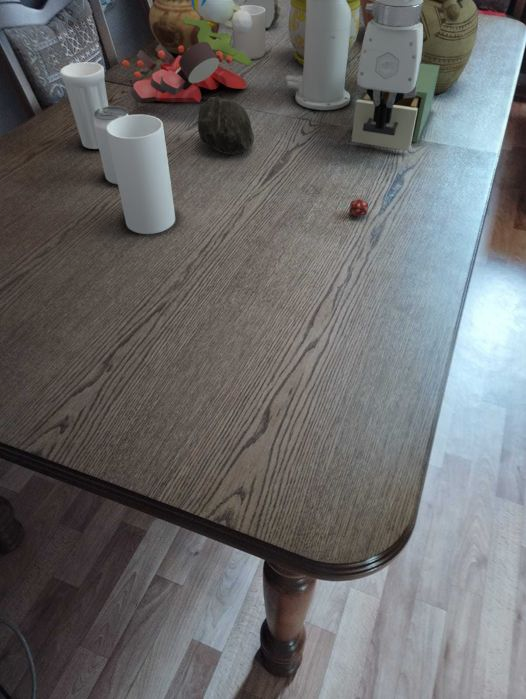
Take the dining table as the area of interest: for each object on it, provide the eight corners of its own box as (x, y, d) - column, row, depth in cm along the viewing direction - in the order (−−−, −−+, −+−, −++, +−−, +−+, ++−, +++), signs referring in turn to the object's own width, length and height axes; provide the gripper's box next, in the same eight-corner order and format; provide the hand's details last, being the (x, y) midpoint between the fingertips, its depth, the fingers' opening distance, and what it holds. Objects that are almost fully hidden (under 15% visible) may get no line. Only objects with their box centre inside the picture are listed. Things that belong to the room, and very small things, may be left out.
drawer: (404, 161, 105) (412, 119, 99) (345, 150, 108) (350, 110, 102) (421, 121, 117) (429, 82, 111) (368, 113, 120) (373, 75, 114)
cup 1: (70, 149, 110) (50, 74, 100) (92, 132, 116) (75, 59, 105) (105, 155, 108) (88, 79, 98) (126, 138, 114) (112, 64, 103)
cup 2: (153, 239, 88) (137, 143, 77) (115, 224, 91) (94, 129, 80) (185, 216, 93) (174, 122, 82) (147, 202, 96) (132, 110, 85)
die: (362, 222, 92) (364, 206, 90) (345, 217, 93) (347, 201, 91) (369, 214, 93) (371, 198, 91) (352, 209, 94) (355, 193, 92)
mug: (267, 45, 154) (267, 1, 146) (264, 60, 146) (264, 14, 138) (236, 45, 155) (235, 1, 147) (232, 59, 146) (230, 14, 138)
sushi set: (185, 138, 116) (89, 75, 116) (228, 139, 143) (150, 88, 143) (251, -1, 104) (145, -71, 104) (284, 29, 131) (200, -26, 131)
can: (133, 187, 100) (121, 121, 91) (100, 183, 101) (84, 118, 92) (146, 170, 104) (135, 106, 96) (113, 167, 105) (100, 103, 96)
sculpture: (254, 31, 180) (289, 17, 176) (246, 38, 165) (283, 23, 162) (242, -7, 174) (278, -22, 170) (232, -3, 159) (270, -20, 156)
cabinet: (416, 142, 112) (427, 93, 105) (355, 132, 115) (361, 83, 108) (429, 112, 122) (439, 65, 115) (373, 104, 126) (379, 58, 119)
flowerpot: (369, 63, 144) (378, -10, 132) (315, 78, 137) (320, 2, 125) (326, 45, 154) (331, -24, 143) (273, 57, 147) (274, -14, 136)
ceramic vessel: (376, 68, 142) (397, -78, 120) (460, 74, 139) (497, -75, 117) (371, 96, 129) (393, -61, 107) (464, 104, 126) (506, -57, 104)
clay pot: (212, 53, 141) (177, -35, 129) (156, 74, 150) (118, -6, 138) (240, 31, 153) (209, -52, 141) (186, 51, 162) (154, -25, 151)
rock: (248, 159, 105) (241, 103, 99) (194, 160, 108) (184, 106, 102) (262, 141, 113) (256, 89, 107) (210, 143, 116) (202, 92, 110)
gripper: (346, 15, 89) (336, 128, 102) (440, 24, 85) (417, 140, 98) (358, 4, 94) (347, 113, 107) (447, 12, 90) (424, 124, 103)
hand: (381, 126), depth 102 cm, fingers closed
